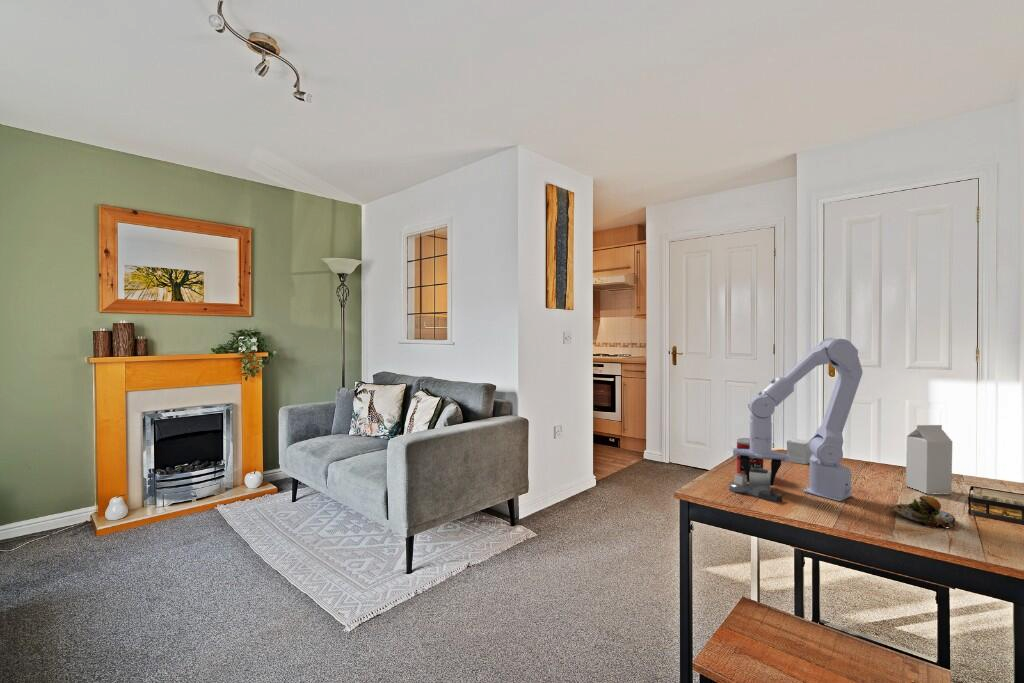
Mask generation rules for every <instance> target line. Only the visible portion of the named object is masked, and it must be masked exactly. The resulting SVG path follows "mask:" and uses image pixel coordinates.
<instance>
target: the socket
mask: <svg viewBox="0 0 1024 683" xmlns="http://www.w3.org/2000/svg"><path fill="white" fill-rule="evenodd" d="M770 481H771V469H767V468H763V469H760V468H752V467H751V468H750V472H749V482H748V484H750V485H752V487H753V488H756V489H760V490H767V491H771V488H772V486H771V485H770Z"/></svg>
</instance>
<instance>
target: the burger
mask: <svg viewBox="0 0 1024 683" xmlns="http://www.w3.org/2000/svg"><path fill="white" fill-rule="evenodd" d="M937 492H938V491H937ZM936 495H937V494H934V496H931V495H921V496H919V501H918V500H917V499H913V502H911V503H909V504H908V503H907V504H904V503H900V504H899V503H898V504H895V505H893V506H892V509H893V510H894V511H895V512H896V513H898V515H900V516H902V517H904V518H907V519H909V520H911V521H914V522H919V523H923V524H925V527H927V526H929V527H928V528H930V527H937V528H938V526H939V525H941V526H942V527H943V528H944V529H947V528H946V527H955V524H956V517H954V515H952V514H950V513H949V512H946V511H942V510H941V508H942V506H941V502H939V500H938V499H936V498H935V497H936Z"/></svg>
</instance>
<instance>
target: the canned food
mask: <svg viewBox="0 0 1024 683" xmlns="http://www.w3.org/2000/svg"><path fill="white" fill-rule="evenodd" d="M736 449H750V437H740V438H737V440H736ZM751 467H752V468H760V469H764V459H759V458H751V457H750V468H751ZM737 473H741V474H745V475H746V473H745V470H744V468H743V465H742V463H741V461H740V456H736V474H737Z"/></svg>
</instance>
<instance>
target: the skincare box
mask: <svg viewBox="0 0 1024 683" xmlns="http://www.w3.org/2000/svg"><path fill="white" fill-rule="evenodd" d="M808 442H809V440H805V439H799V438H791V439H788V440H786V454H789V462H790V463H794V464H795V463H796V464H801V465H807V464H810V458H811V456H812V453H811V452H810V451H809V449H808Z"/></svg>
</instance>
